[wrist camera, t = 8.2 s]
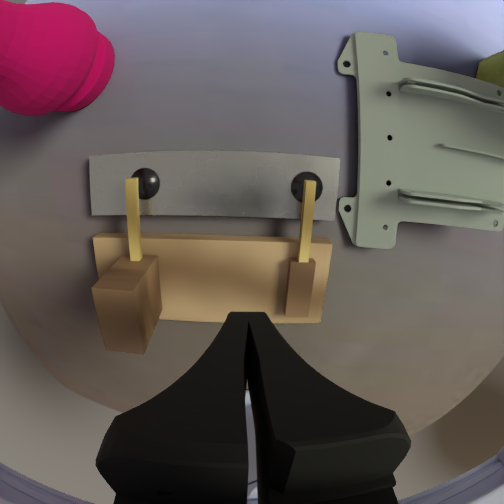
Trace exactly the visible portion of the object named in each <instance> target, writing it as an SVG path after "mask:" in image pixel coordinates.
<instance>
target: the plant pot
mask: <svg viewBox="0 0 504 504" xmlns="http://www.w3.org/2000/svg"><path fill="white" fill-rule="evenodd" d="M476 79H479V80H482V81H485V82H488V83H492V84H495V85H497V86H500V87H503V88H504V50H503V51H501V52H499V53H496V54H494V55H492V56H490V57H487V58H485V59H483V60H481V61H480V62H479V64H478V71H477V75H476ZM497 94H498V96H501V93H500V91H499V90H497Z"/></svg>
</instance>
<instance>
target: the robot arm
mask: <svg viewBox="0 0 504 504" xmlns="http://www.w3.org/2000/svg"><path fill="white" fill-rule="evenodd" d="M247 381H248V388H249V390H246V384H247ZM410 447H411V440H410V438H409V436H408V434H407V432H406V429H405V427H404V425H403V424H402V422H401V420H400V419H399V417H398V416H397V414H396V413H395V411H392V410H390V409H387V408H384V407H382V406H379V405H376V404H374V403H371V402H368V401H366V400H364V399H362V398H360V397H358V396H356V395H354V394H352V393H350V392H348V391H346V390H344V389H343V388H341V387H339V386H338V385H336V384H334V383H333V382H331V381H330V380H328V379H327V378H325V377H324V376H322V375H321V374H320V373H318V372H317V371H316V370H315V369H313V368H312V367H311V366H310V365H309V364H307V363H306V362H305V361H304V360H303V359H302V358H301V357H300V356H299V355H298V354H297V353H296V352H295V351H294V350H293V348H292V347H291V346H290V345H289V344H288V343H287V342H286V340H285V339H284V338H283V337H282V335H281V334H280V333H279V331H278V330H277V329H276V327H275V326H274V324H273V323H272V321H271V320H270V318H269V317H268V315H267V314H266V313H265V312H233V311H231V312H230V313H229V314H228V315H227V318H226V320H225V322H224V324H223V326H222V328H221V330H220V331H219V333H218V334H217V336H216V338H215V339H214V341H213V342H212V343H211V345H210V346H209V347H208V349H207V350H206V351H205V352H204V354H203V355H202V356H201V357H200V359H199V360H198V361H197V362H196V363H195V364H194V365H193V366H192V367H191V368H190V369H189V370H188V371H187V372H186V373H185V374H184V375H183V376H181V377H180V378H179V379H178V380H177V381H176V382H174V383H173V384H172V385H171V386H169V387H168V388H167V389H165V390H164V391H162V392H161V393H159V394H158V395H156V396H155V397H153V398H152V399H150V400H148V401H147V402H145V403H143V404H141V405H139V406H137V407H135V408H133V409H131V410H129V411H127V412H125V413H122V414H120V415H118V416H116V417H115V418H114V420H113V422H112V423H111V425H110V427H109V429H108V430H107V433H106V434H105V436H104V439H103V441H102V444H101V447H100V450H99V452H98V455H97V458H96V467H97V469H98V471H99V472H100V474H101V475H102V476H103V478H104V479H105V480H106V482H107V483H108V484H109V485H110V487H111V488H112V489H113V490H114V491H115V493H116V496H115V500H114V504H504V446H503V448H502V449H501V450H500V451H499V452H498V455H496V456H494V457H493V458H491V459H489V460H487V461H486V462H484V463H482V464H480V465H479V466H477V467H475V468H473V469H471V470H469V471H468V472H466V473H464V474H462V475H460V476H458V477H455V478H453V479H451V480H449V481H447V482H445V483H443V484H440V485H438V486H436V487H433V488H431V489H429V490H426V491H423V492H421V493H418V494H416V495H413V496H410V497H407V498H405V499H402V500H399V501H397V498H396V496H395V493H394V490H393V487H394V486H395V485H396V481H395V478H394V475H393V472H394V471H395V469H396V468H397V467H398V466H399V464H400V463H401V462H402V460H403V459H404V458H405V456H406V455H407V453H408V451H409V449H410ZM0 504H94V503H90V502H87V501H84V500H81V499H79V498H75V497H73V496H70V495H68V494H65V493H62V492H60V491H57V490H55V489H53V488H50V487H48V486H46V485H43V484H41V483H39V482H36V481H34V480H32V479H30V478H28V477H26V476H24V475H22V474H20V473H18V472H16V471H14V470H13V469H11V468H9V467H7V466H5V465H4V464H2V463H0Z"/></svg>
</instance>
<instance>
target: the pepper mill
mask: <svg viewBox="0 0 504 504" xmlns="http://www.w3.org/2000/svg"><path fill="white" fill-rule="evenodd" d="M114 56H115V55H114V50H113V47H112V45H111V42H110V41H109V40H108V39H107V38H106V37H105V36H104V35H102V34H101V33H99V32H98V31H97V29H96V26H95V23H94V22H93V20H92V19H91V17H90V16H89V15H88V14H87V13H85V12H84V11H82V10H80V9H78V8H77V7H75V6H72V5H69V4H63V3H54V2H52V3H41V4H27V5H26V4H16V3H11V2H8V1H4V0H0V106H2V107H3V108H5V109H7V110H9V111H11V112H13V113H17V114H22V115H26V116H39V115H43V114H47V113H49V112H51V111H53V110H54V111H62V112H72V111H76V110H79V109H81V108H83V107H85V106H87V105H88V104H90V103H91V102H92V101H94V100H95V99H96V98H97V97H98V96H99V94H100V93H101V92H102V91H103V89H104V88H105V86H106V85H107V83H108V81H109V79H110V77H111V74H112V71H113V67H114Z"/></svg>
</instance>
